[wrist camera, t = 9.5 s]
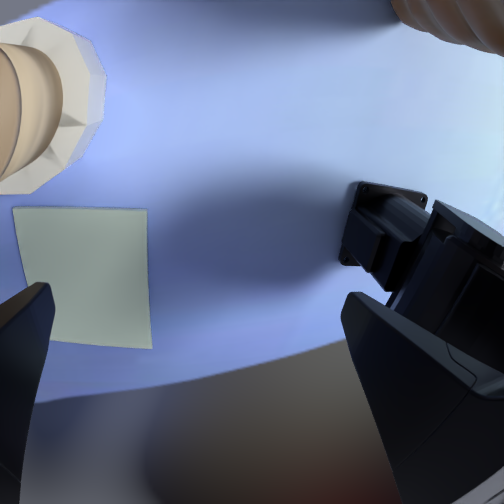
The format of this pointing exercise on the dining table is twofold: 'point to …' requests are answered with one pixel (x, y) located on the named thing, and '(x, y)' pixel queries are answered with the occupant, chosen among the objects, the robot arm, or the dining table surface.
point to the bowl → (74, 98)
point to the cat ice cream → (457, 21)
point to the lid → (26, 106)
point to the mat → (90, 271)
